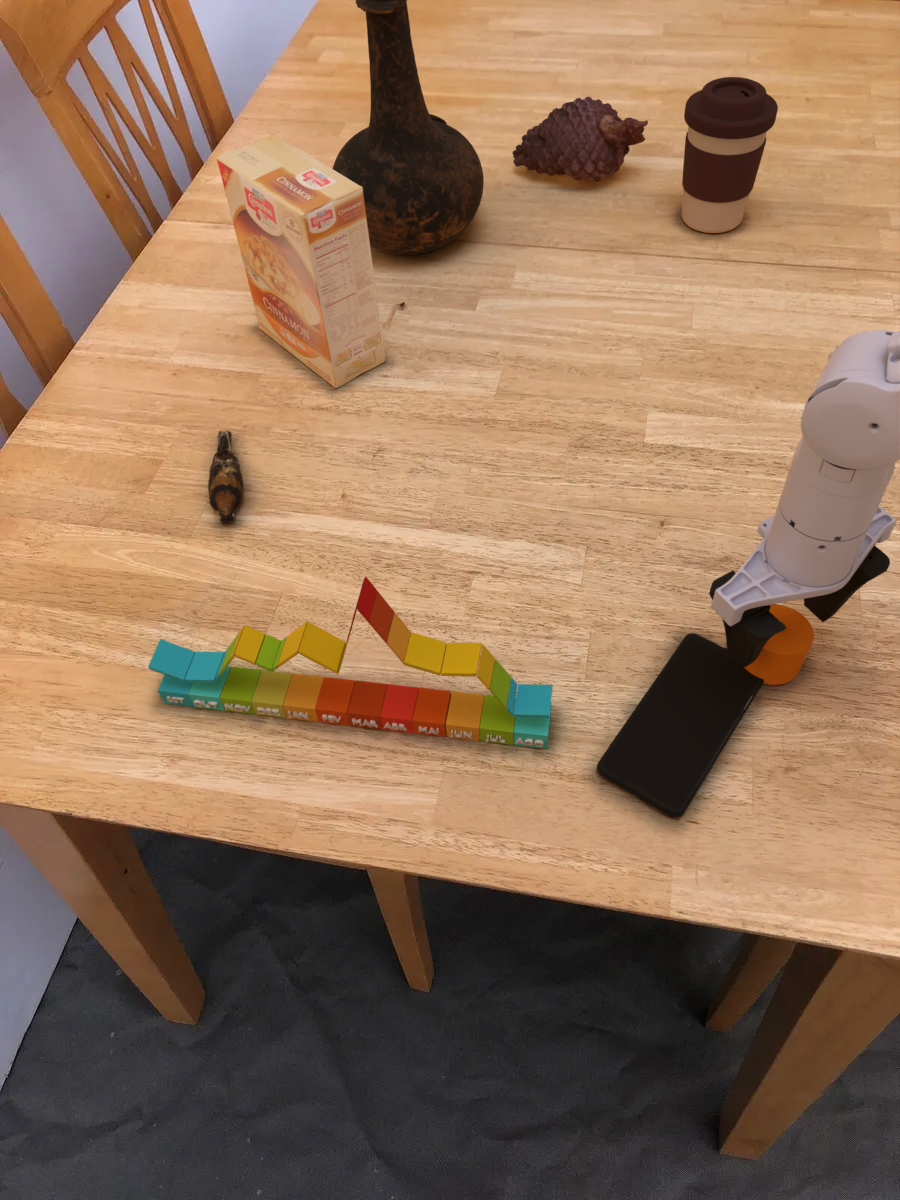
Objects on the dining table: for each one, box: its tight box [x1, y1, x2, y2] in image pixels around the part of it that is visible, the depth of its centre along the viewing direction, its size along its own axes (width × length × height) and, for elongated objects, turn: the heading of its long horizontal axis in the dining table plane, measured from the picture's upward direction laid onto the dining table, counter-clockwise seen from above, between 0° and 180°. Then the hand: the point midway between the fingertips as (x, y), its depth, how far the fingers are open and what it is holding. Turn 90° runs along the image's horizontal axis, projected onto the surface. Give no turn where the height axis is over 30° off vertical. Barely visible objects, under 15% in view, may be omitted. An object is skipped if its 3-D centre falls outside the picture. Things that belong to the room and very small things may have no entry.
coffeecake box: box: [215, 133, 386, 389], centre depth 93 cm, size 15×7×20 cm, turn 40°
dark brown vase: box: [332, 0, 485, 256], centre depth 103 cm, size 18×18×28 cm
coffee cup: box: [681, 76, 779, 234], centre depth 107 cm, size 10×10×15 cm
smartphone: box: [596, 632, 764, 819], centre depth 69 cm, size 7×1×15 cm
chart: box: [147, 576, 554, 750], centre depth 66 cm, size 30×3×15 cm, turn 81°
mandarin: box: [744, 603, 815, 686], centre depth 71 cm, size 5×5×4 cm
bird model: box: [207, 430, 244, 524], centre depth 87 cm, size 3×14×3 cm, turn 6°
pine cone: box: [511, 96, 649, 183], centre depth 118 cm, size 18×10×10 cm
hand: (778, 633), depth 70 cm, fingers open, 7 cm apart
